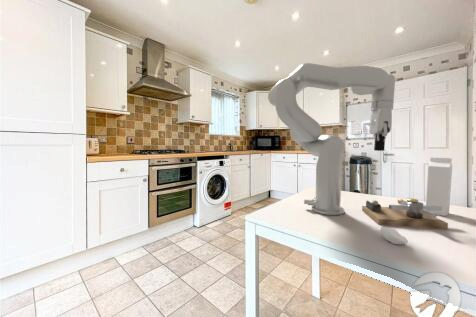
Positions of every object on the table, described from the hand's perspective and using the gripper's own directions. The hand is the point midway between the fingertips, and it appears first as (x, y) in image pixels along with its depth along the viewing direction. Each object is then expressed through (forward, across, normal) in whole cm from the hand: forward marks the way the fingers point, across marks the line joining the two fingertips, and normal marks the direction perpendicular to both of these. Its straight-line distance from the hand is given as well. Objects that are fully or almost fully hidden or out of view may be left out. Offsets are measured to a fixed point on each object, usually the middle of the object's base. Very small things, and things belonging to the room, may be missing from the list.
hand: (379, 150), depth 87 cm
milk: (+25, +1, +21) cm, 33 cm away
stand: (+25, +12, +4) cm, 28 cm away
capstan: (+23, +15, +7) cm, 28 cm away
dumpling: (+26, +33, -7) cm, 42 cm away
